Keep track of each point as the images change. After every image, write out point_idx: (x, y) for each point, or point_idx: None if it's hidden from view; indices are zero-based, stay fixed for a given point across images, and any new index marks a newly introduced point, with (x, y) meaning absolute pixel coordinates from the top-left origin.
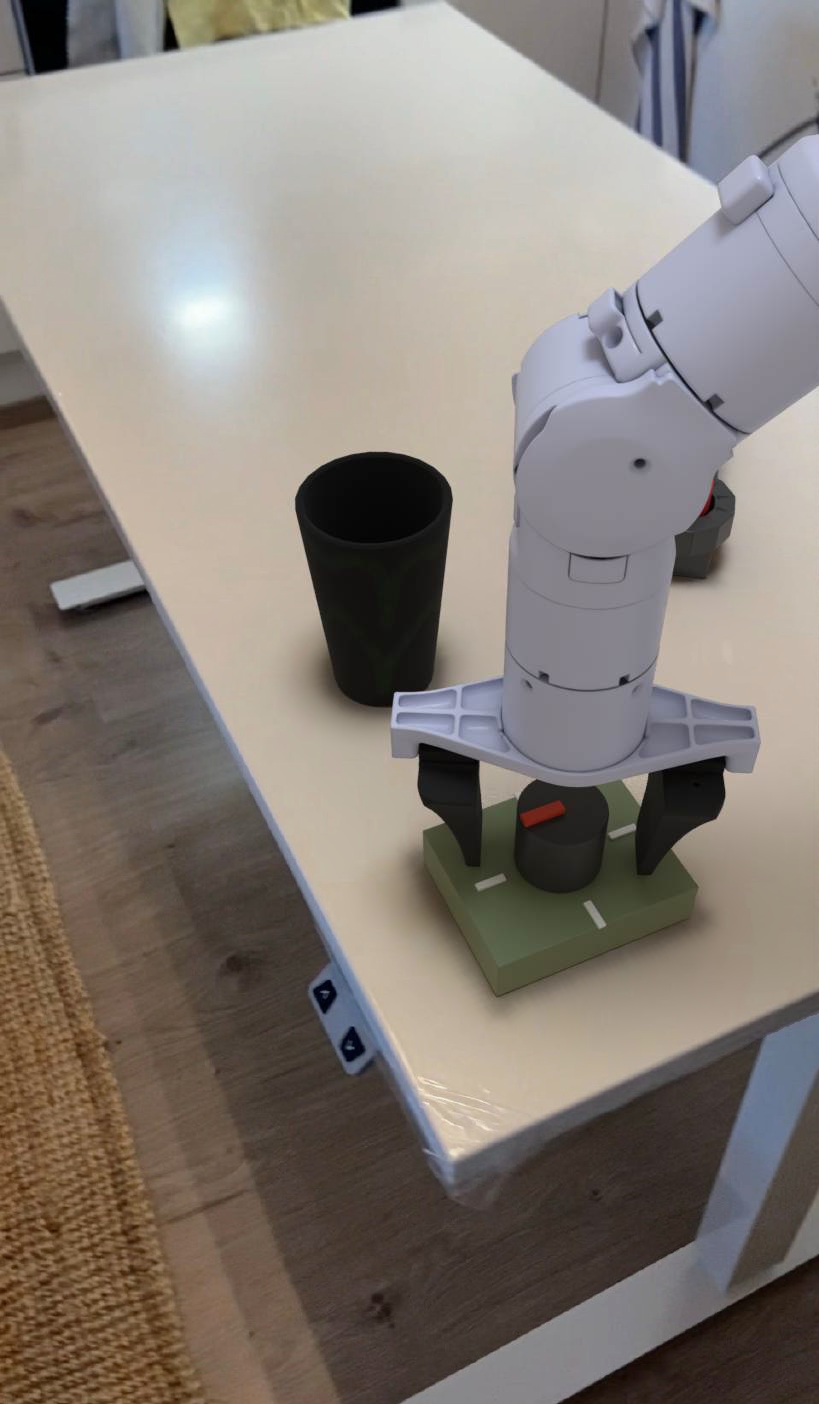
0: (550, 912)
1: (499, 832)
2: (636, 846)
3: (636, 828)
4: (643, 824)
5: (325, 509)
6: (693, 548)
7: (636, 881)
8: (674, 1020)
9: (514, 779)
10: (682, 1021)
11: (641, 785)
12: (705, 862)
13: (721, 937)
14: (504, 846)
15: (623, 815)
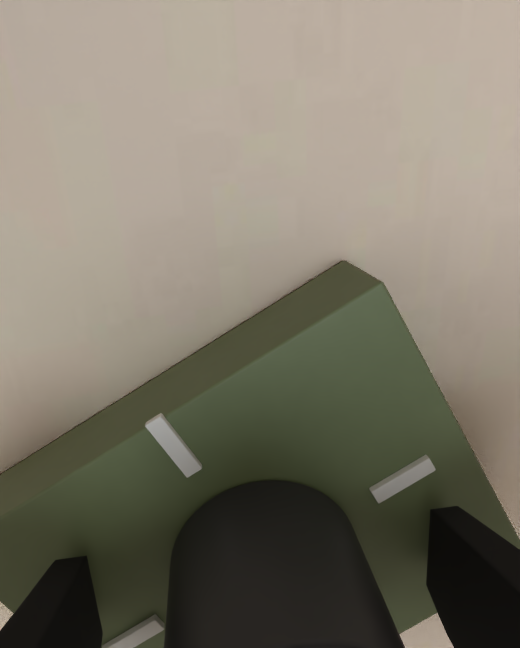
0: None
1: (130, 522)
2: (436, 549)
3: (446, 528)
4: (491, 632)
5: None
6: None
7: (418, 574)
8: (426, 637)
9: (144, 241)
10: (436, 636)
11: (422, 221)
12: (515, 388)
13: (511, 514)
14: (147, 554)
15: (406, 431)
